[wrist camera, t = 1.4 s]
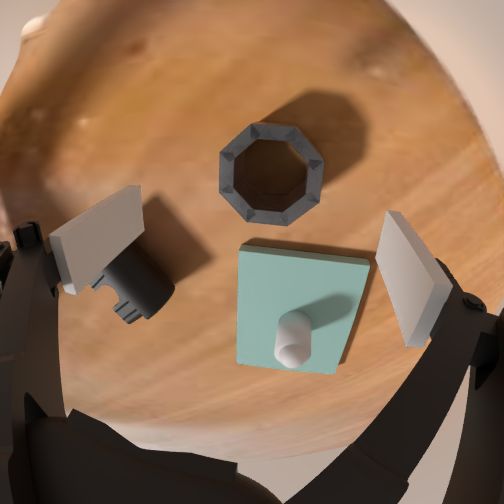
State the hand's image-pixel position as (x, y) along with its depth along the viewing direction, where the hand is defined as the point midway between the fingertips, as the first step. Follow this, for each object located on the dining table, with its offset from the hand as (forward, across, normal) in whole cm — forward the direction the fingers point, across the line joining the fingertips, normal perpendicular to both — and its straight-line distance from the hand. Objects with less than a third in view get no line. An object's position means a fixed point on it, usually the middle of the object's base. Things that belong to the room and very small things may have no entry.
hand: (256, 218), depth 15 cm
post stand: (+14, +4, -18) cm, 23 cm away
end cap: (+15, -16, -13) cm, 26 cm away
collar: (+14, 0, 0) cm, 15 cm away
